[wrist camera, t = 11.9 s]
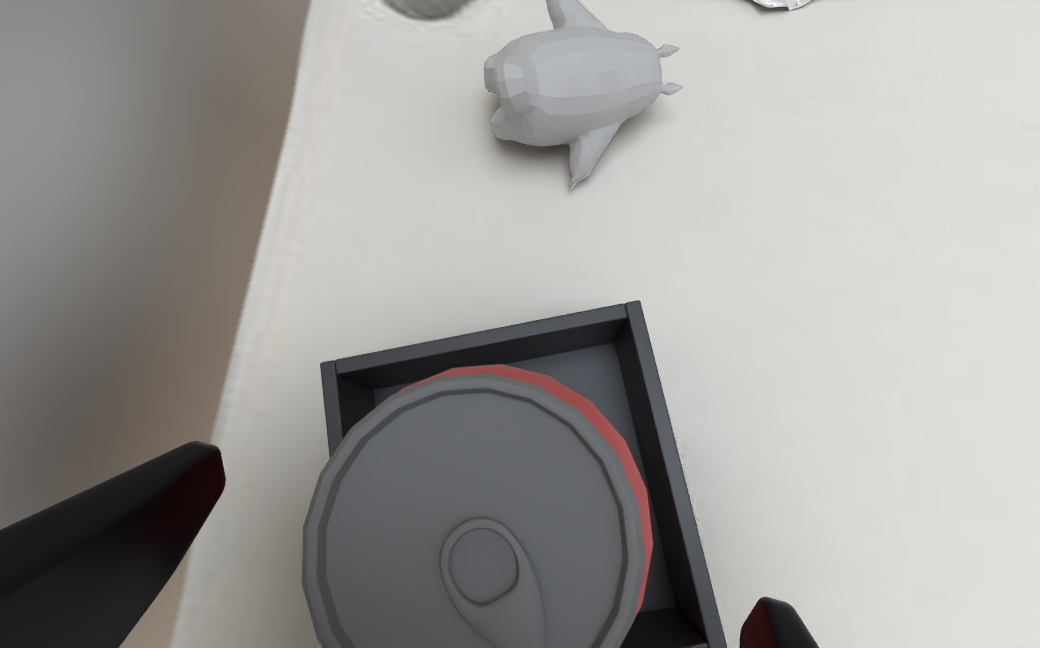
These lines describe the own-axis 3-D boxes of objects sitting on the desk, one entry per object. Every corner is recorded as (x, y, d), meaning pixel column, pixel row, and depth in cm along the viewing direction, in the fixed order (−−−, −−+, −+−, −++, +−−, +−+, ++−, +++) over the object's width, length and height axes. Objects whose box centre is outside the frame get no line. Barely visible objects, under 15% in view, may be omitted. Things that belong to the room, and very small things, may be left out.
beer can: (481, 631, 20) (383, 884, 8) (394, 464, 21) (203, 470, 9) (640, 529, 20) (766, 627, 8) (544, 373, 22) (538, 273, 10)
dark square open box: (399, 671, 20) (357, 730, 16) (363, 381, 22) (319, 362, 18) (690, 614, 20) (730, 658, 15) (622, 330, 22) (640, 299, 18)
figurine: (503, 201, 26) (671, 172, 26) (508, 202, 20) (724, 165, 20) (471, 10, 24) (652, -20, 24) (467, -50, 18) (704, -88, 18)
